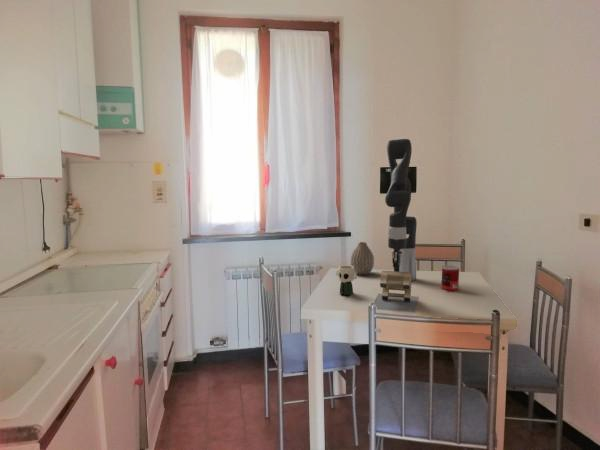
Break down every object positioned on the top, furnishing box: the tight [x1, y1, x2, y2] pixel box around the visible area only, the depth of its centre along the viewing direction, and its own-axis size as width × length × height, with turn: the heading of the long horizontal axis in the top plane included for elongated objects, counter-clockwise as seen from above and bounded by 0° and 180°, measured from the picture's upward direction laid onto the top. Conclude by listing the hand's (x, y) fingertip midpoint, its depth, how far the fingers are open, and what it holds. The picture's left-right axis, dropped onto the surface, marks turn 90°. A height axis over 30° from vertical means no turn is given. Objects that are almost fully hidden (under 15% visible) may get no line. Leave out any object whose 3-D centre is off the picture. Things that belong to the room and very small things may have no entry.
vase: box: [349, 241, 375, 276], centre depth 246 cm, size 13×13×18 cm
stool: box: [379, 270, 412, 302], centre depth 192 cm, size 7×12×12 cm
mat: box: [373, 293, 419, 313], centre depth 192 cm, size 23×18×1 cm
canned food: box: [441, 264, 460, 292], centre depth 213 cm, size 8×8×11 cm
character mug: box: [335, 264, 358, 296], centre depth 206 cm, size 11×7×13 cm, turn 52°
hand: (396, 276), depth 194 cm, fingers closed
